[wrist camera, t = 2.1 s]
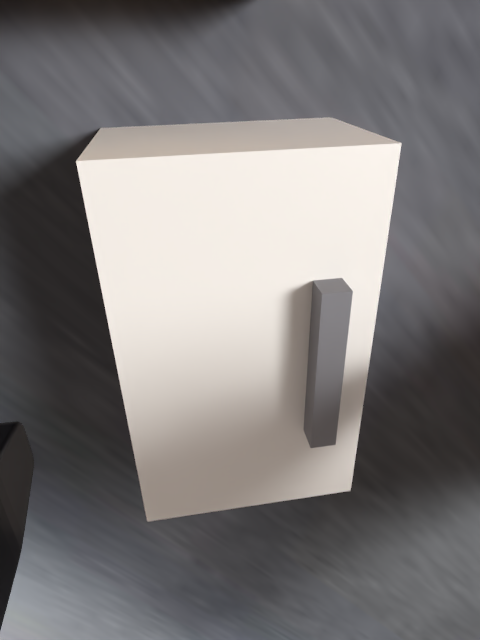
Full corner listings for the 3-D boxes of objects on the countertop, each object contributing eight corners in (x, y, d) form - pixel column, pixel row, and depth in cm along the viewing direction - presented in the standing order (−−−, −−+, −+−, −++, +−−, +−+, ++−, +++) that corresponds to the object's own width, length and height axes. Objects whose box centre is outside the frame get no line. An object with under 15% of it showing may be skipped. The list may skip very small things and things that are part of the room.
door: (328, 116, 11) (417, 149, 7) (308, 397, 16) (358, 509, 12) (101, 126, 11) (70, 169, 7) (149, 417, 15) (146, 542, 11)
